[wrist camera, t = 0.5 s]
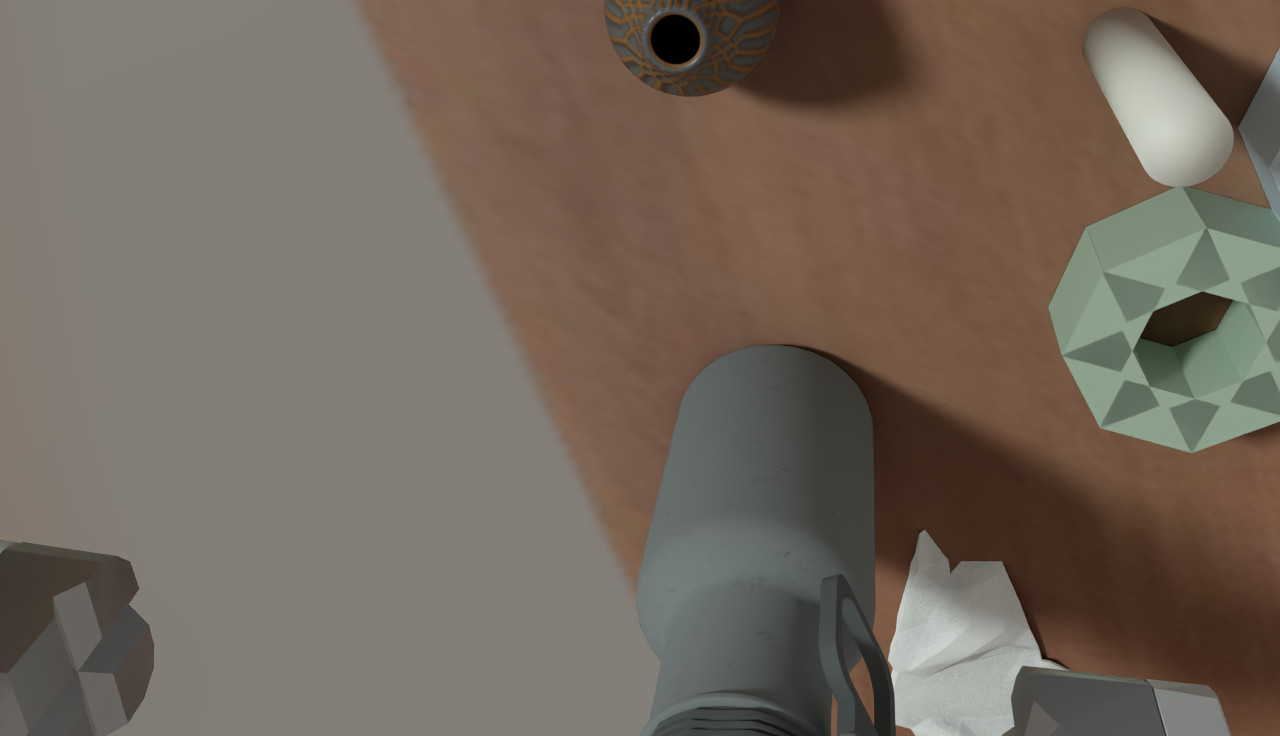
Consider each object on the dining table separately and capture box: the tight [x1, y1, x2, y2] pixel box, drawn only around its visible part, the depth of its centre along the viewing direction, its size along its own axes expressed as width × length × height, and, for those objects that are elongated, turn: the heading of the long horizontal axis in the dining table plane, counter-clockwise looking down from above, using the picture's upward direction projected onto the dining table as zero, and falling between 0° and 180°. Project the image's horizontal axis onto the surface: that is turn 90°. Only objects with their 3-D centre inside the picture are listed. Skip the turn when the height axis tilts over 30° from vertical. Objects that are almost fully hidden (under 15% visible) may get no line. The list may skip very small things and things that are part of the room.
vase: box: [604, 0, 781, 97], centre depth 46 cm, size 7×7×9 cm
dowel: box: [1082, 7, 1234, 187], centre depth 43 cm, size 3×3×12 cm
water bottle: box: [636, 345, 896, 736], centre depth 48 cm, size 10×10×28 cm
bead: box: [1048, 186, 1280, 453], centre depth 51 cm, size 10×10×4 cm
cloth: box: [888, 530, 1071, 736], centre depth 67 cm, size 26×14×2 cm, turn 21°
